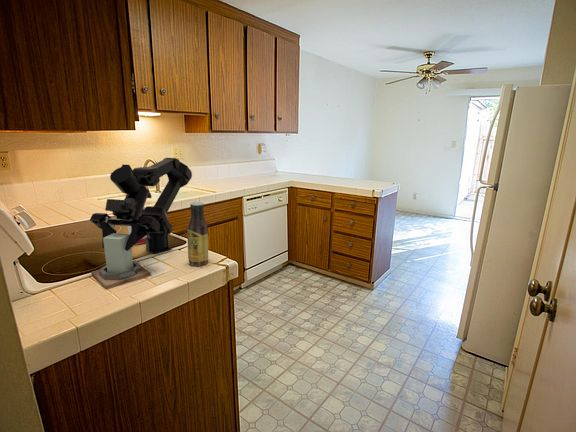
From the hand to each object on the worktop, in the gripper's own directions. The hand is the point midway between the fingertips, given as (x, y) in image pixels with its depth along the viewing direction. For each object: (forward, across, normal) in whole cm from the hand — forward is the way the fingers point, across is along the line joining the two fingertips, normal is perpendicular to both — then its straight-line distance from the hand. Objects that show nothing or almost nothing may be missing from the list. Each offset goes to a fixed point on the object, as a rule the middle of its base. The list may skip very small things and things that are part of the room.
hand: (114, 249), depth 87 cm
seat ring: (+5, 0, +7) cm, 9 cm away
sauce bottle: (-4, +18, +16) cm, 25 cm away
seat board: (+5, 0, +7) cm, 9 cm away
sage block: (+4, 0, +6) cm, 8 cm away
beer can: (-14, -11, +26) cm, 31 cm away
